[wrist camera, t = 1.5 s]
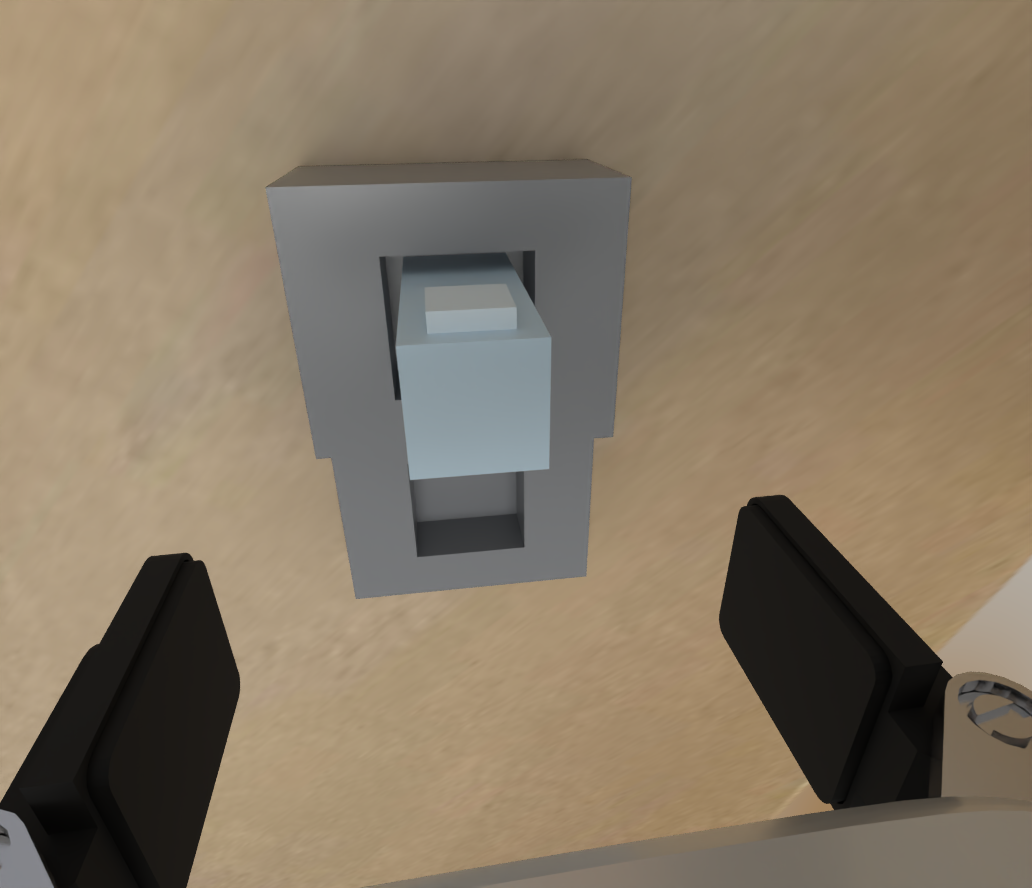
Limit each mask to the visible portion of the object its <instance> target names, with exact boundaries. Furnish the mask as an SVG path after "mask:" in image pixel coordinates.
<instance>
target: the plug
mask: <svg viewBox="0 0 1032 888" xmlns="http://www.w3.org/2000/svg"><path fill="white" fill-rule="evenodd" d="M396 353H397V362H398V372H399V381H400V390H401V400H402V409H403V419H404V428H405V437H406V447H407V456H408V466H409V475H410V480H417V479H429V478H442V477H455V476H467V475H480V474H493V473H505V472H518V471H531V470H543V469H549V451H550V394H551V335H550V334H549V332H548V330H547V328H546V326H545V324H544V323H543V321H542V319H541V317H540V315H539V313H538V312H537V310H536V308H535V306H534V304H533V302H532V300H531V299H530V297H529V295H528V293H527V291H526V289H525V288H524V286H523V284H522V282H521V280H520V278H519V276H518V275H517V273H516V271H515V269H514V267H513V265H512V264H511V262H510V260H509V258H508V256H507V254H506V253H487V254H462V255H437V256H412V257H403V267H402V279H401V290H400V302H399V314H398V326H397V337H396Z"/></svg>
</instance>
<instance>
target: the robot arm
mask: <svg viewBox="0 0 1032 888" xmlns="http://www.w3.org/2000/svg"><path fill="white" fill-rule="evenodd" d="M719 623H720V628H721V632H722V634H723V636H724V638H725V640H726V641H727V643H728V645H729V647H730V648H731V650H732V652H733V653H734V655H735V657H736V659H737V660H738V662H739V664H740V665H741V667H742V669H743V670H744V672H745V674H746V676H747V677H748V679H749V681H750V682H751V684H752V686H753V688H754V689H755V691H756V693H757V694H758V696H759V698H760V700H761V701H762V703H763V705H764V706H765V708H766V710H767V711H768V713H769V715H770V717H771V718H772V720H773V722H774V723H775V725H776V727H777V729H778V730H779V732H780V734H781V735H782V737H783V739H784V740H785V742H786V744H787V746H788V747H789V749H790V751H791V752H792V754H793V756H794V758H795V759H796V761H797V763H798V764H799V766H800V768H801V769H802V771H803V773H804V775H805V776H806V778H807V780H808V781H809V783H810V785H811V787H812V788H813V790H814V792H815V793H816V795H817V796H818V798H819V799H820V800H821V801H822V802H824V803H826V804H829V803H830V804H831V805H832V807H833V809H834V810H832V811H825V812H819V813H811V814H805V815H798V816H792V817H786V818H779V819H773V820H767V821H761V822H754V823H748V824H742V825H736V826H729V827H723V828H717V829H710V830H704V831H698V832H692V833H685V834H679V835H673V836H667V837H660V838H654V839H648V840H642V841H636V842H630V843H624V844H618V845H612V846H606V847H599V848H593V849H587V850H581V851H575V852H569V853H563V854H557V855H551V856H545V857H539V858H533V859H527V860H521V861H515V862H509V863H503V864H497V865H491V866H485V867H479V868H473V869H467V870H461V871H455V872H449V873H443V874H437V875H431V876H426V877H420V878H414V879H408V880H402V881H396V882H391V883H385V884H379V885H373V886H367V887H361V888H1032V691H1030V690H1029V689H1027V688H1026V687H1024V686H1022V685H1020V684H1018V683H1015V682H1013V681H1011V680H1009V679H1006V678H1004V677H1000V676H997V675H992V674H988V673H983V672H966V673H962V674H958V675H956V676H954V677H952V676H951V675H950V674H949V673H948V672H947V671H946V670H945V669H944V668H943V667H942V666H941V665H942V663H943V661H942V660H941V659H940V658H939V657H938V656H937V655H936V654H935V653H934V652H933V651H932V649H931V648H930V647H929V646H928V645H927V644H926V643H925V642H924V641H923V640H922V639H921V638H920V637H919V636H918V635H917V634H916V633H915V632H914V630H913V629H912V628H911V627H910V626H909V625H908V624H907V623H906V622H905V621H904V620H903V619H902V618H901V617H900V616H899V615H898V614H897V612H896V611H895V610H894V609H893V608H892V607H891V606H890V605H889V604H888V603H887V602H886V601H885V600H884V599H883V598H882V597H881V596H880V595H879V593H878V592H877V591H876V590H875V589H874V588H873V587H872V586H871V585H870V584H869V583H868V582H867V581H866V580H865V579H864V578H863V577H862V575H861V574H860V573H859V572H858V571H857V570H856V569H855V568H854V567H853V566H852V565H851V564H850V563H849V562H848V561H847V560H846V559H845V558H844V556H843V555H842V554H841V553H840V552H839V551H838V550H837V549H836V548H835V547H834V546H833V545H832V544H831V543H830V542H829V541H828V540H827V538H826V537H825V536H824V535H823V534H822V533H821V532H820V531H819V530H818V529H817V528H816V527H815V526H814V525H813V524H812V523H811V522H810V521H809V519H808V518H807V517H806V516H805V515H804V514H803V513H802V512H801V511H800V510H799V509H798V508H797V507H796V506H795V505H794V504H793V503H792V501H791V500H790V499H789V498H787V497H786V496H784V495H774V496H764V497H754V498H751V499H750V500H749V502H748V504H747V506H744V507H742V508H741V509H740V511H739V514H738V519H737V525H736V530H735V535H734V541H733V546H732V551H731V556H730V562H729V567H728V572H727V577H726V583H725V588H724V593H723V598H722V604H721V609H720V614H719ZM239 693H240V677H239V672H238V669H237V666H236V663H235V659H234V656H233V653H232V650H231V646H230V643H229V640H228V637H227V634H226V630H225V627H224V624H223V621H222V618H221V614H220V611H219V608H218V605H217V601H216V598H215V595H214V592H213V589H212V585H211V582H210V579H209V576H208V572H207V569H206V566H205V564H204V563H203V561H201V560H198V561H194V560H193V558H192V556H191V555H190V554H188V553H179V554H169V555H159V556H151V557H149V558H148V559H147V560H146V561H145V563H144V565H143V566H142V568H141V570H140V572H139V574H138V575H137V577H136V579H135V581H134V583H133V584H132V586H131V588H130V590H129V592H128V593H127V595H126V597H125V599H124V601H123V602H122V604H121V606H120V608H119V610H118V611H117V613H116V615H115V617H114V619H113V620H112V622H111V624H110V626H109V628H108V629H107V631H106V633H105V635H104V637H103V638H102V640H101V642H100V644H96V645H95V646H93V647H92V648H90V649H89V650H88V652H87V653H86V654H85V656H84V657H83V659H82V661H81V662H80V664H79V666H78V668H77V669H76V671H75V673H74V675H73V676H72V678H71V680H70V682H69V683H68V685H67V687H66V689H65V690H64V692H63V694H62V696H61V697H60V699H59V701H58V703H57V704H56V706H55V708H54V710H53V711H52V713H51V715H50V717H49V718H48V720H47V722H46V724H45V725H44V727H43V729H42V731H41V732H40V734H39V736H38V738H37V739H36V741H35V743H34V745H33V746H32V748H31V750H30V752H29V753H28V755H27V757H26V759H25V760H24V762H23V764H22V766H21V767H20V769H19V771H18V773H17V774H16V776H15V778H14V780H13V781H12V783H11V785H10V787H9V789H8V790H7V792H6V794H5V796H4V797H3V799H2V801H1V803H0V888H186V887H187V883H188V880H189V876H190V872H191V869H192V865H193V861H194V858H195V854H196V850H197V847H198V843H199V840H200V836H201V832H202V829H203V825H204V821H205V818H206V814H207V811H208V807H209V803H210V800H211V796H212V792H213V789H214V785H215V782H216V778H217V774H218V771H219V767H220V763H221V760H222V756H223V753H224V749H225V745H226V742H227V738H228V734H229V731H230V727H231V723H232V720H233V716H234V713H235V709H236V705H237V702H238V698H239Z"/></svg>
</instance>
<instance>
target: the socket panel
mask: <svg viewBox="0 0 1032 888" xmlns="http://www.w3.org/2000/svg"><path fill="white" fill-rule="evenodd" d="M631 180H632V177H630V176H627V175H625V174H622V173H620V172H617V171H615V170H613V169H610V168H608V167H605V166H603V165H600V164H598V163H595V162H593V161H590V160H588V159H582V160H541V161H499V162H458V163H417V164H375V165H334V166H298V167H297V168H295V169H294V170H292V171H290V172H289V173H287V174H286V175H284V176H283V177H281V178H279V179H278V180H276V181H275V182H273V183H272V184H270V185H268V186H267V187H265V188H266V193H267V198H268V204H269V209H270V214H271V220H272V225H273V230H274V236H275V241H276V247H277V252H278V257H279V263H280V268H281V273H282V279H283V284H284V289H285V295H286V300H287V305H288V311H289V316H290V322H291V327H292V332H293V338H294V343H295V348H296V354H297V359H298V364H299V370H300V375H301V381H302V386H303V391H304V397H305V402H306V407H307V413H308V418H309V423H310V429H311V434H312V439H313V445H314V450H315V456H316V459H322V458H331V459H332V464H333V470H334V476H335V482H336V487H337V493H338V499H339V505H340V511H341V516H342V522H343V528H344V534H345V539H346V545H347V551H348V557H349V563H350V568H351V574H352V580H353V586H354V591H355V597H356V599H360V598H371V597H381V596H391V595H401V594H411V593H421V592H432V591H442V590H452V589H462V588H472V587H482V586H492V585H503V584H513V583H523V582H533V581H543V580H553V579H564V578H574V577H584V576H586V571H587V553H588V535H589V517H590V499H591V481H592V463H593V445H594V438H605V437H613V431H614V417H615V403H616V389H617V375H618V361H619V348H620V334H621V320H622V306H623V292H624V278H625V264H626V250H627V236H628V222H629V208H630V194H631ZM487 253H506V254H507V256H508V258H509V260H510V262H511V264H512V265H513V267H514V269H515V271H516V273H517V275H518V276H519V278H520V280H521V282H522V284H523V286H524V288H525V289H526V291H527V293H528V295H529V297H530V299H531V300H532V302H533V304H534V306H535V308H536V310H537V312H538V313H539V315H540V317H541V319H542V321H543V323H544V324H545V326H546V328H547V330H548V332H549V334H550V335H551V394H550V451H549V469H543V470H531V471H518V472H505V473H493V474H480V475H467V476H455V477H442V478H429V479H417V480H410V475H409V466H408V456H407V447H406V437H405V428H404V419H403V409H402V400H401V390H400V381H399V372H398V362H397V353H396V337H397V326H398V314H399V302H400V290H401V279H402V267H403V257H412V256H437V255H462V254H487Z"/></svg>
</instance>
